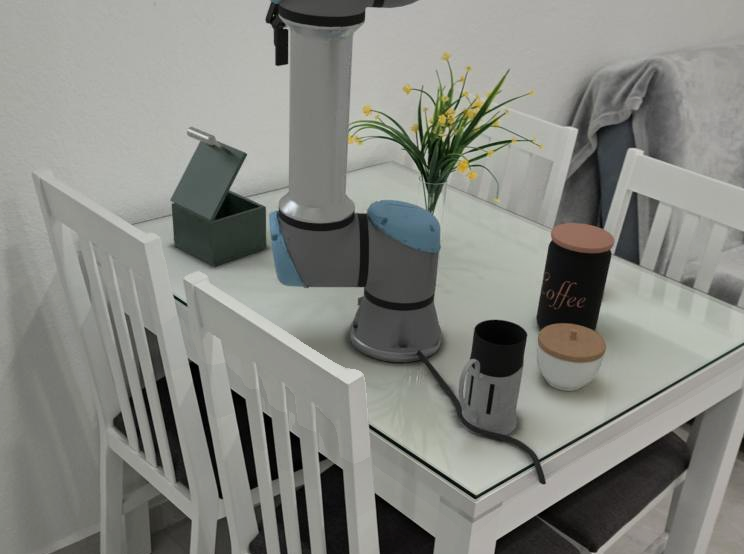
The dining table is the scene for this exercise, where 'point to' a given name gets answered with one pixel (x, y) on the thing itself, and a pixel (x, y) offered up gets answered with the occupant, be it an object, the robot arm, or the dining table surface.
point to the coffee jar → (574, 275)
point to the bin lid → (208, 175)
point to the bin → (221, 230)
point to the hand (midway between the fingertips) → (305, 72)
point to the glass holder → (493, 376)
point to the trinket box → (569, 355)
